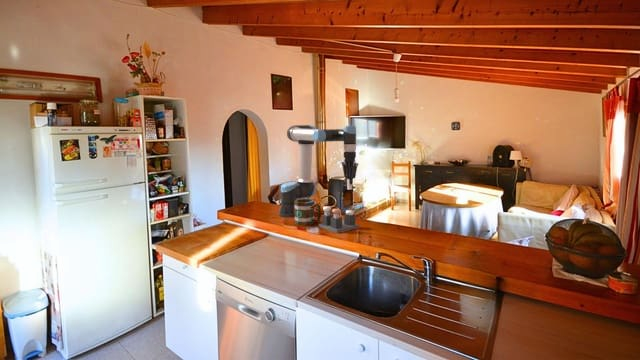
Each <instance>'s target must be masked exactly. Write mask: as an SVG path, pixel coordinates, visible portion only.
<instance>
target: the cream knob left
mask: <svg viewBox="0 0 640 360" xmlns="http://www.w3.org/2000/svg"><path fill="white" fill-rule="evenodd" d="M345 215H349V216H351V215H355V211H354V210H351V209H347V210H345Z"/></svg>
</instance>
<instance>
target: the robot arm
mask: <svg viewBox="0 0 640 360" xmlns="http://www.w3.org/2000/svg"><path fill="white" fill-rule="evenodd" d="M286 136H287V138H288V139H289V140H290V141H291V142H295V143H297V144H298V145H299V147H300V148H299V178H298V179H297V182H296V181H288V182H285V183H282V184H281V185H280V203H281V204H280V206H279V207H280V208H279V210H278V211H279V212H278V215H279V216H280V217H282V218H292V217H293V218H295V215H294V210H295V205H294V201H295V200H298V199H311V198H313V197H314V196H315V194H316V193H317V186H316V184H315V182H314V180H313V179H312V160H313V158H312V157H313V146H314V145H315V142H317V143H324V142H325V143H326V142H327V143H328V142H343V161H341V165H342V172H343V177H344V178H346V184H347V185H346V187H347V189H346V190H350V191H351V190H353V184H354V183H353V182H354V181H353V180H354V179H356V175H357V170H358V169H357V168H358V166H359V162H356V158H357V152H356V150H357V127H356V126H355V125H344V126H343V128H342V129H341V128H334V129H331V128H330V129H328V128H327V129H326V128H325V129H323V128H316V127H315V126H313V125H311V124H300V125H297V124H296V125H291V126H290V127H288V129H287V130H286Z"/></svg>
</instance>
